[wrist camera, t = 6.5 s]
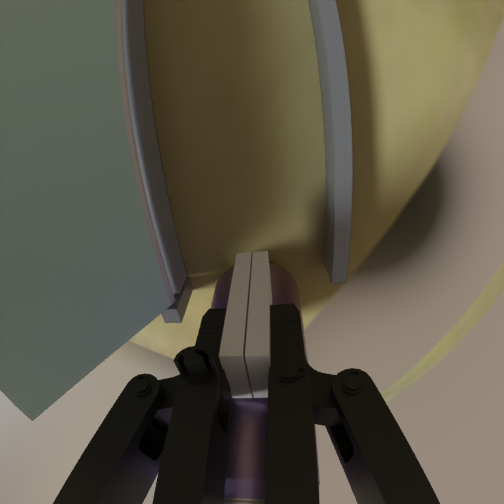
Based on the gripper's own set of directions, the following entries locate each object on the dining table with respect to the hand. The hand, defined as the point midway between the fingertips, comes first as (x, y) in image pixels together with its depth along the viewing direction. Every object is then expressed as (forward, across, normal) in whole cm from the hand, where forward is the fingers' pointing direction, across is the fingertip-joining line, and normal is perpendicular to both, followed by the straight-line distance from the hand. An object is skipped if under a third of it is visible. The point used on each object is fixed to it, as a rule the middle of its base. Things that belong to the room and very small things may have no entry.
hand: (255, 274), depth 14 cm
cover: (-4, -8, +10) cm, 13 cm away
